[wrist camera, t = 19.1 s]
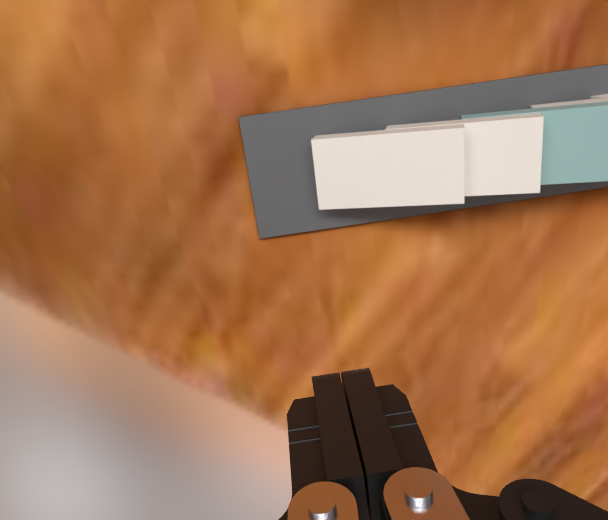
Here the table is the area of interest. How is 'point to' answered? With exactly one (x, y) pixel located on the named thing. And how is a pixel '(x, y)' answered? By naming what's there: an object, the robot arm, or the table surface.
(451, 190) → the domino
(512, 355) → the table surface
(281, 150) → the strip
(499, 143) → the domino
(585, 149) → the domino
